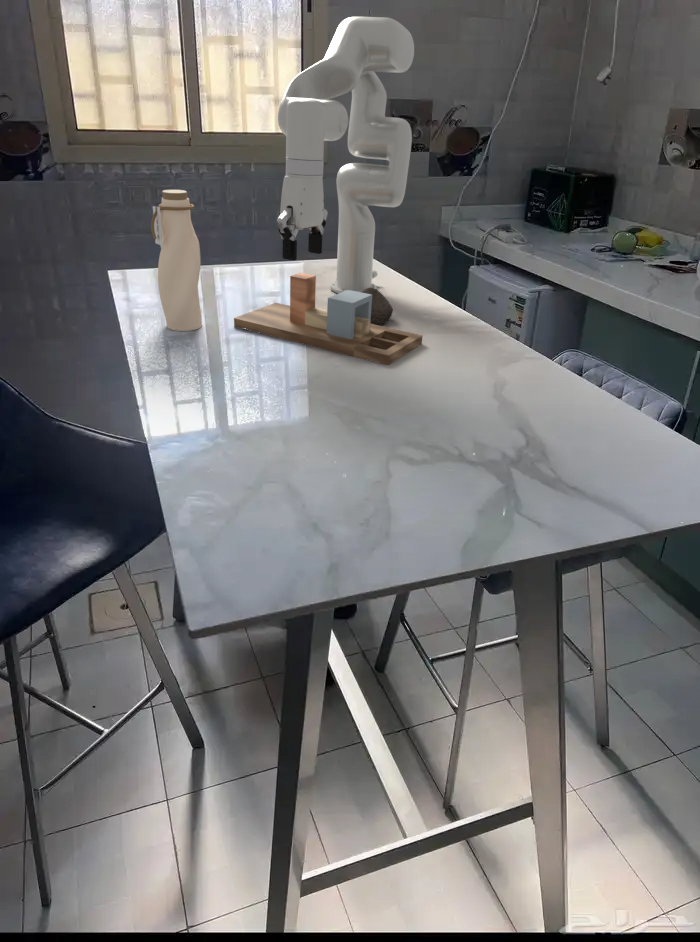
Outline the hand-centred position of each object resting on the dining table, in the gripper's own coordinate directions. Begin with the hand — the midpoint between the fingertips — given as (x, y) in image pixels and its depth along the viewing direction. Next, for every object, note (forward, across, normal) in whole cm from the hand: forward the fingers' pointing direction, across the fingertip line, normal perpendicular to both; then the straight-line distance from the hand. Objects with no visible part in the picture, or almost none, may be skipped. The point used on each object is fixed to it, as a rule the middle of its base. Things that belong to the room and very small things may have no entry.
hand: (302, 256), depth 146 cm
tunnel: (+14, -1, +12) cm, 19 cm away
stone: (+16, -18, +8) cm, 25 cm away
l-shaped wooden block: (+14, -1, +7) cm, 16 cm away
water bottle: (+17, +14, -22) cm, 31 cm away
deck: (+16, -1, +6) cm, 17 cm away
